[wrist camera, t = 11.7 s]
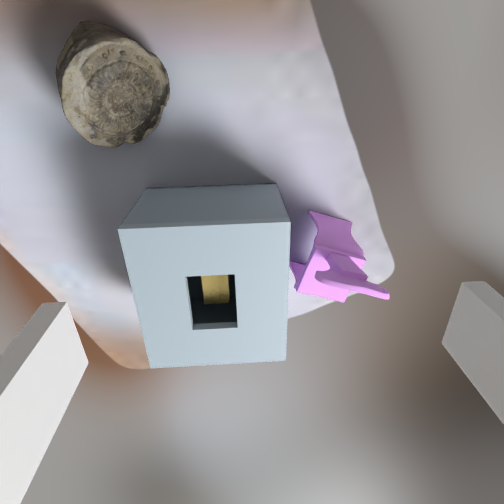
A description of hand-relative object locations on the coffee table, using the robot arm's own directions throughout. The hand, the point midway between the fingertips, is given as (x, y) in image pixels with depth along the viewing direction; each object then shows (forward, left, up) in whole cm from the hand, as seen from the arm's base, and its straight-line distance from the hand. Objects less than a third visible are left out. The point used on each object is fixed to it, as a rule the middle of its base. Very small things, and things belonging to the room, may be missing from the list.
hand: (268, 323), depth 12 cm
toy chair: (+14, +10, -32) cm, 36 cm away
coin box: (+14, -4, -32) cm, 35 cm away
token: (+14, -4, -31) cm, 35 cm away
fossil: (-6, -13, -32) cm, 35 cm away
